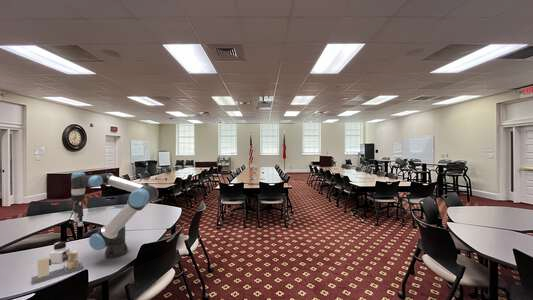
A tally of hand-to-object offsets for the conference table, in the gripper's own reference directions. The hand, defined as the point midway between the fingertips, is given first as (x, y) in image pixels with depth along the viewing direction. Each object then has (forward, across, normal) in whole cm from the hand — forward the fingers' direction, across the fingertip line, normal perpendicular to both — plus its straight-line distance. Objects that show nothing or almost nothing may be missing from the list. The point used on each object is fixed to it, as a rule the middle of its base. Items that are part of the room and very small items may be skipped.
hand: (78, 223), depth 165 cm
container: (+27, +10, +9) cm, 30 cm away
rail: (+27, -13, +12) cm, 32 cm away
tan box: (+25, -13, +5) cm, 28 cm away
